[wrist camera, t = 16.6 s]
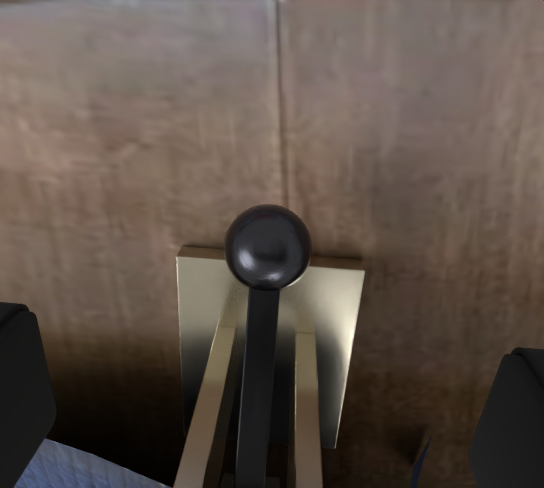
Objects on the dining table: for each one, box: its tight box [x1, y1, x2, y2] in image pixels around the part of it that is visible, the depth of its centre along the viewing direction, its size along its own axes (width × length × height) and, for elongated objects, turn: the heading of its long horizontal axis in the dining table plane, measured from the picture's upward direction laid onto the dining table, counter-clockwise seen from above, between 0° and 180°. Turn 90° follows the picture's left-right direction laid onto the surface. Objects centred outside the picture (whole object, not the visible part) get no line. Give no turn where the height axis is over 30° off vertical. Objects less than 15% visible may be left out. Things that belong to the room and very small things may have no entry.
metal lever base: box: [173, 246, 365, 488], centre depth 19 cm, size 12×9×12 cm
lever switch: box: [219, 204, 312, 488], centre depth 16 cm, size 13×3×3 cm, turn 177°
